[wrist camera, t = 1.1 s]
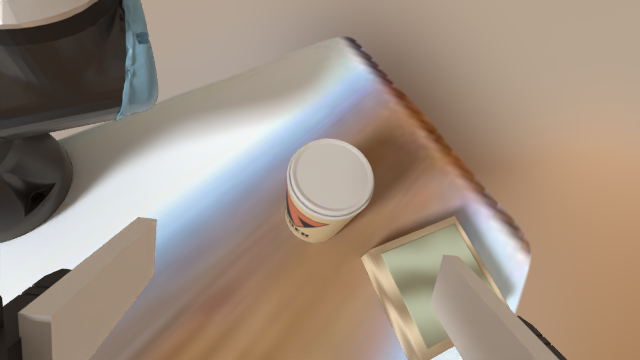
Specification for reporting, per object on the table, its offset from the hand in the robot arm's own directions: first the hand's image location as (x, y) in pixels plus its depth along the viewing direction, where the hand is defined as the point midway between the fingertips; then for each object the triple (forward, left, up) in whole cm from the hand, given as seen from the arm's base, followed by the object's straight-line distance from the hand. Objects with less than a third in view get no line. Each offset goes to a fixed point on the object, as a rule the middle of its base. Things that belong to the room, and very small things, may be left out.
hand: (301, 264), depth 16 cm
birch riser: (+4, +20, -27) cm, 34 cm away
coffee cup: (-10, +10, -27) cm, 31 cm away
